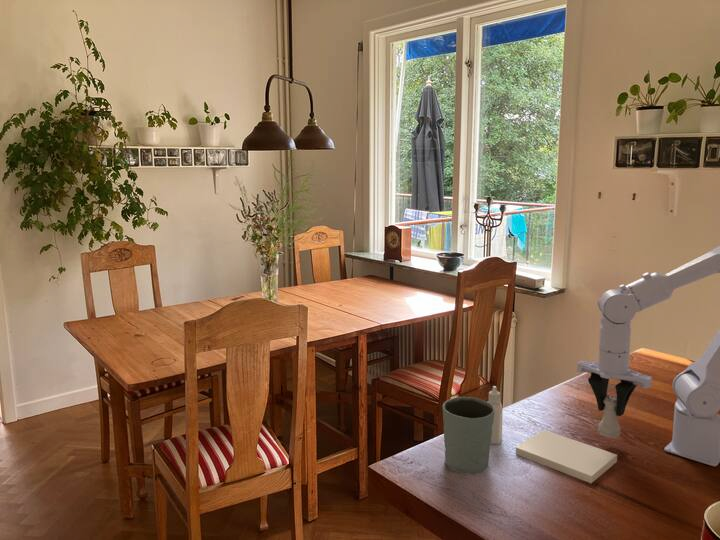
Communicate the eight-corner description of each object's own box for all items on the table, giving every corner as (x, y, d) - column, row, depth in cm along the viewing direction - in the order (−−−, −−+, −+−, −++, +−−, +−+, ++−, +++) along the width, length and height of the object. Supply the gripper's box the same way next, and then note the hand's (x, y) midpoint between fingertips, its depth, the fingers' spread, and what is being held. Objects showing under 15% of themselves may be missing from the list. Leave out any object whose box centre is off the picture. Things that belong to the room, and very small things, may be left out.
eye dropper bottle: (509, 437, 127) (510, 385, 125) (496, 446, 123) (497, 393, 121) (491, 431, 130) (492, 380, 128) (478, 440, 126) (478, 388, 124)
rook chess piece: (622, 432, 122) (625, 396, 121) (618, 440, 119) (621, 404, 117) (600, 426, 125) (603, 391, 123) (595, 434, 121) (597, 398, 120)
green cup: (440, 450, 122) (440, 396, 120) (488, 450, 122) (489, 396, 120) (445, 476, 112) (445, 418, 110) (498, 475, 112) (499, 417, 110)
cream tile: (616, 461, 116) (617, 454, 115) (591, 483, 108) (591, 476, 108) (543, 435, 127) (543, 429, 127) (515, 454, 120) (515, 447, 120)
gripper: (570, 346, 121) (568, 407, 123) (643, 362, 110) (639, 428, 113) (586, 338, 126) (584, 397, 128) (657, 353, 115) (653, 417, 118)
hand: (611, 411), depth 121 cm, fingers closed on rook chess piece, 3 cm apart
